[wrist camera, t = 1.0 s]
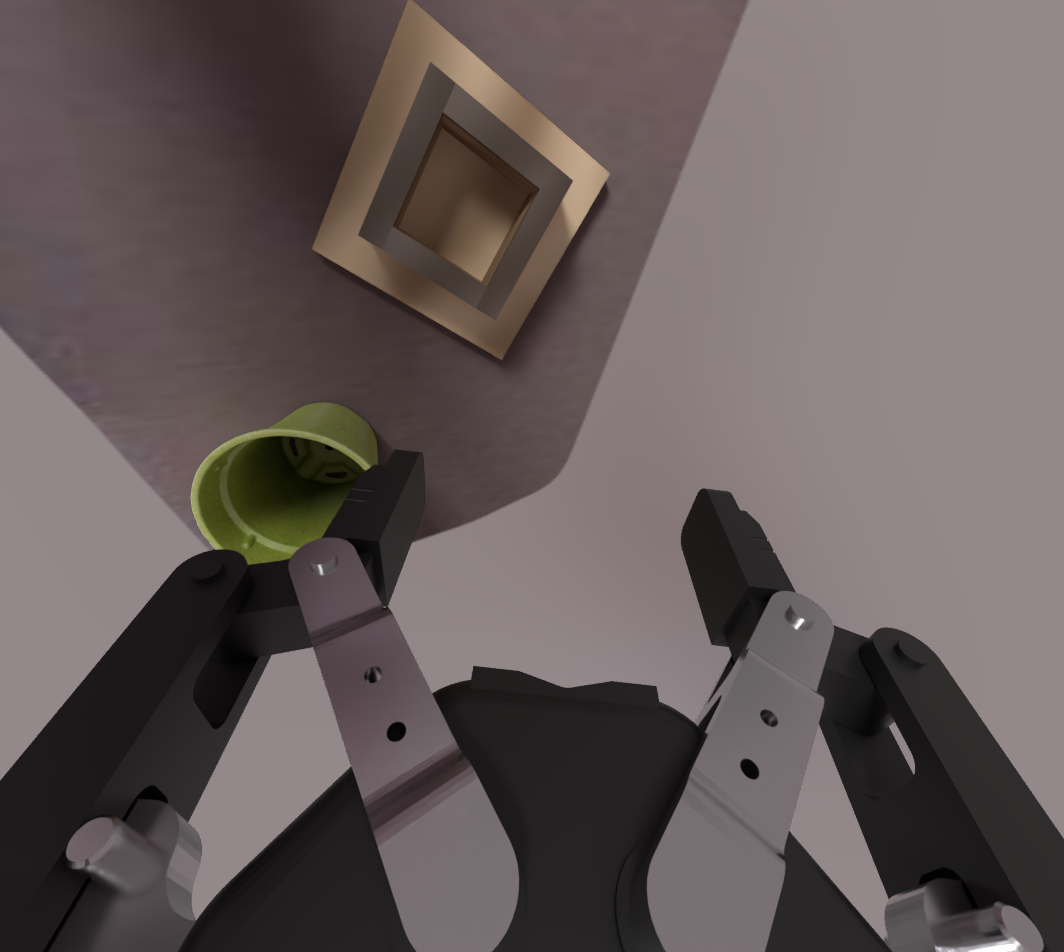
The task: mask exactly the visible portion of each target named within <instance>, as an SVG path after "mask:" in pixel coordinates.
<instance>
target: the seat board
mask: <svg viewBox="0 0 1064 952" xmlns="http://www.w3.org/2000/svg"><path fill="white" fill-rule="evenodd" d="M609 174H610V173H609V172H608V171H606V170H605V169H604V168H603V167H602V166H601V165H600V164H598V163H597V162H596V161H595V160H594V159H593V158H592V157H590V156H589V155H588V154H587V153H586V152H585V151H584V150H582V149H581V148H580V147H579V146H578V145H577V144H576V143H574V142H573V141H572V140H571V139H570V138H569V137H568V136H566V135H565V134H564V133H563V132H562V131H561V130H560V129H558V128H557V127H556V126H555V125H554V124H553V123H552V122H551V121H549V120H548V119H547V118H546V117H545V116H544V115H543V114H541V113H540V112H539V111H538V110H537V109H536V108H535V107H533V106H532V105H531V104H530V103H529V102H528V101H527V100H525V99H524V98H523V97H522V96H521V95H520V94H519V93H517V92H516V91H515V90H514V89H513V88H512V87H511V86H509V85H508V84H507V83H506V82H505V81H504V80H503V79H501V78H500V77H499V76H498V75H497V74H496V73H495V72H493V71H492V70H491V69H490V68H489V67H488V66H487V65H485V64H484V63H483V62H482V61H481V60H480V59H479V58H477V57H476V56H475V55H474V54H473V53H472V52H471V51H469V50H468V49H467V48H466V47H465V46H464V45H463V44H462V43H460V42H459V41H458V40H457V39H456V38H455V37H454V36H452V35H451V34H450V33H449V32H448V31H447V30H446V29H444V28H443V27H442V26H441V25H440V24H439V23H438V22H436V21H435V20H434V19H433V18H432V17H431V16H430V15H428V14H427V13H426V12H425V11H424V10H423V9H422V8H420V7H419V6H418V5H417V4H416V3H415V2H414V1H412V0H408V1H407V4H406V6H405V9H404V11H403V14H402V17H401V19H400V22H399V24H398V27H397V30H396V32H395V35H394V37H393V40H392V43H391V45H390V48H389V50H388V53H387V55H386V58H385V61H384V63H383V66H382V68H381V71H380V74H379V76H378V79H377V81H376V84H375V87H374V89H373V92H372V94H371V97H370V99H369V102H368V105H367V107H366V110H365V112H364V115H363V118H362V120H361V123H360V125H359V128H358V131H357V133H356V136H355V138H354V141H353V143H352V146H351V149H350V151H349V154H348V156H347V159H346V162H345V164H344V167H343V169H342V172H341V175H340V177H339V180H338V182H337V185H336V187H335V190H334V193H333V195H332V198H331V200H330V203H329V206H328V208H327V211H326V213H325V216H324V219H323V221H322V224H321V226H320V229H319V232H318V234H317V237H316V239H315V242H314V244H313V247H312V250H314V251H316V252H318V253H319V254H321V255H323V256H324V257H326V258H328V259H330V260H331V261H333V262H335V263H336V264H338V265H340V266H342V267H343V268H345V269H347V270H348V271H350V272H352V273H353V274H355V275H357V276H359V277H360V278H362V279H364V280H365V281H367V282H369V283H371V284H372V285H374V286H376V287H377V288H379V289H381V290H383V291H384V292H386V293H388V294H389V295H391V296H393V297H395V298H396V299H398V300H400V301H401V302H403V303H405V304H407V305H408V306H410V307H412V308H413V309H415V310H417V311H419V312H420V313H422V314H424V315H425V316H427V317H429V318H431V319H432V320H434V321H436V322H437V323H439V324H441V325H443V326H444V327H446V328H448V329H449V330H451V331H453V332H455V333H456V334H458V335H460V336H461V337H463V338H465V339H467V340H468V341H470V342H472V343H473V344H475V345H477V346H479V347H480V348H482V349H484V350H485V351H487V352H489V353H491V354H492V355H494V356H496V357H497V358H499V359H501V360H502V359H503V357H504V355H505V353H506V352H507V350H508V348H509V346H510V345H511V343H512V341H513V340H514V338H515V336H516V334H517V333H518V331H519V329H520V328H521V326H522V324H523V322H524V321H525V319H526V317H527V316H528V314H529V312H530V310H531V309H532V307H533V305H534V303H535V302H536V300H537V298H538V297H539V295H540V293H541V291H542V290H543V288H544V286H545V285H546V283H547V281H548V279H549V278H550V276H551V274H552V273H553V271H554V269H555V267H556V266H557V264H558V262H559V260H560V259H561V257H562V255H563V254H564V252H565V250H566V248H567V247H568V245H569V243H570V242H571V240H572V238H573V236H574V235H575V233H576V231H577V230H578V228H579V226H580V224H581V223H582V221H583V219H584V217H585V216H586V214H587V212H588V211H589V209H590V207H591V205H592V204H593V202H594V200H595V199H596V197H597V195H598V193H599V192H600V190H601V188H602V187H603V185H604V183H605V181H606V180H607V178H608V176H609Z"/></svg>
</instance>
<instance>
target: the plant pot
mask: <svg viewBox="0 0 1064 952" xmlns="http://www.w3.org/2000/svg"><path fill="white" fill-rule="evenodd" d="M292 437H293V438H294V439H295V445H296V449H297V452H298V456H296V455H294V454H293V452H292V449H291V447H290V445H289V439H290V438H292ZM326 445H329V446H331V447H333V449H332V450H328V449H326ZM374 464H375V465H378V452H377V441H376V437H375V434H374V432H373V430H372V428H371V427H370V425H369V424H368V423H367V422H366V421H365V420H364V419H362V418H361V417H360V416H358V415H357V414H356V413H354V412H353V411H351V410H350V409H349V408H347V407H344V406H342V405H338V404H334V403H325V402H320V403H312V404H308V405H305V406H303V407H301V408H299V409H297V410H295V411H294V412H292V413H291V414H289V415H288V416H287V417H285V418H284V419H282V420H281V421H279V422H278V423H276V424H275V425H273V426H272V427H270V428H269V429H262V430H256V431H252V432H249V433H245V434H243V435H240V436H237V437H235V438H233V439H231V440H229V441H227V442H226V443H224V444H222V445H221V446H220V447H218V448H217V449H215V450H214V451H213V452H212V453H211V454H210V455H209V456H208V457H207V458H206V459H205V460H204V461H203V463H202V464H201V465H200V467H199V469H198V470H197V472H196V475H195V477H194V480H193V484H192V489H191V505H192V511H193V514H194V517H195V519H196V521H197V525H198V527H199V529H200V530H201V532H202V534H203V535H204V536H205V537H206V539H207V540H208V541H209V543H210V544H211V545H212V546H213V547H214V548H215V549H216V550H218V549H228V550H234V551H237V552H239V553H241V554H242V555H243V556H244V557H245V559H246V561H247V563H248V565H250V564H257V563H265V562H273V561H280V560H286V559H290V558H291V557H292V555H293V554H294V553H295V552H296V551H297V550H298V549H299V548H300V547H302V546H303V545H305V544H307V543H309V542H311V541H314V540H317V539H321V538H322V536H323V535H324V533H325V531H326V530H327V528H328V526H329V525H330V523H331V521H332V520H333V518H334V517H335V515H336V513H337V512H338V510H339V508H340V507H341V505H342V504H343V502H344V500H346V497H347V495H348V494H349V492H350V490H352V488H353V486H354V484H355V482H356V481H357V479H358V477H359V476H360V474H362V473H363V472H365V471H366V470H367V469H369V468H370V467H372V466H373V465H374ZM340 472H346V473H347V474H346V476H343V477H329V476H327V475H326V474H327V473H340Z"/></svg>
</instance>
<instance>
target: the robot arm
mask: <svg viewBox="0 0 1064 952" xmlns="http://www.w3.org/2000/svg"><path fill="white" fill-rule="evenodd" d="M424 503H425V478H424V457H423V453H421V452H413V451H405V450H397V449H396V450H395V451H394V452H393V454H392V455H391V457H390V459H389V461H388V463H387V464H386V466H383V465H375V464H374V465H373V466H372V467H370V468H369V469H367V470H366V471H365V472H363V473H362V474H360V476H359V477H358V479H357V481H356V482H355V484H354V486H353V488H352V490H350V492H349V494H348V495H347V497H346V500H344V502H343V504H342V505H341V507H340V508H339V510H338V512H337V513H336V515H335V517H334V518H333V520H332V521H331V523H330V525H329V526H328V528H327V530H326V531H325V533H324V535H323V536H322V538H321V539H317V540H314V541H311V542H309V543H307V544H305V545H303V546H302V547H300V548H299V549H298V550H297V551H296V552H295V553H294V554H293V555H292V557H291V558H290V559H286V560H280V561H273V562H265V563H257V564H250V565H248V563H247V561H246V559H245V557H244V556H243V555H242V554H241V553H239V552H237V551H234V550H228V549H218V550H211V551H207V552H204V553H201V554H198V555H196V556H193V557H191V558H190V559H188V560H186V561H185V562H183V563H182V564H181V565H179V566H178V567H177V568H176V569H175V570H174V571H173V572H172V574H171V575H170V576H169V577H168V579H167V580H166V581H165V582H164V583H163V584H162V586H161V587H160V588H159V589H158V591H157V592H156V593H155V594H154V595H153V597H152V598H151V599H150V600H149V601H148V603H147V604H146V605H145V606H144V608H143V609H142V610H141V611H140V612H139V614H138V615H137V616H136V617H135V618H134V620H133V621H132V622H131V623H130V625H129V626H128V627H127V628H126V629H125V630H124V632H123V633H122V634H121V635H120V637H119V638H118V639H117V640H116V642H115V643H114V644H113V645H112V646H111V647H110V649H109V650H108V651H107V652H106V653H105V655H104V656H103V657H102V658H101V660H100V661H99V662H98V663H97V664H96V666H95V667H94V668H93V669H92V670H91V672H90V673H89V674H88V675H87V677H86V678H85V679H84V680H83V681H82V682H81V684H80V685H79V686H78V687H77V689H76V690H75V691H74V692H73V693H72V695H71V696H70V697H69V698H68V699H67V701H66V702H65V703H64V704H63V706H62V707H61V708H60V709H59V710H58V711H57V713H56V714H55V715H54V716H53V718H52V719H51V720H50V721H49V722H48V724H47V725H46V726H45V727H44V728H43V730H42V731H41V732H40V733H39V734H38V736H37V737H36V738H35V740H34V741H33V742H32V743H31V745H29V747H28V748H27V749H26V750H25V751H24V753H23V754H22V755H21V756H20V757H19V759H18V760H17V761H16V762H15V764H14V765H13V766H12V767H11V768H10V770H9V771H8V772H7V773H6V774H5V776H4V777H3V778H2V779H1V780H0V952H1064V839H1063V837H1062V836H1061V834H1060V833H1059V832H1058V830H1057V828H1056V827H1055V826H1054V824H1053V823H1052V821H1051V820H1050V818H1049V817H1048V815H1047V814H1046V813H1045V811H1044V810H1043V808H1042V807H1041V805H1040V804H1039V802H1038V801H1037V800H1036V798H1035V797H1034V795H1033V794H1032V792H1031V791H1030V789H1029V788H1028V787H1027V785H1026V783H1025V782H1024V781H1023V779H1022V778H1021V776H1020V775H1019V773H1018V772H1017V770H1016V769H1015V768H1014V766H1013V765H1012V763H1011V762H1010V760H1009V759H1008V757H1007V756H1006V755H1005V753H1004V752H1003V750H1002V749H1001V747H1000V746H999V744H998V743H997V742H996V740H995V739H994V737H993V736H992V734H991V733H990V731H989V730H988V728H987V727H986V726H985V724H984V723H983V721H982V720H981V718H980V717H979V715H978V714H977V712H976V711H975V709H974V708H973V707H972V705H971V704H970V703H969V701H968V699H967V698H966V696H965V695H964V694H963V692H962V691H961V689H960V688H959V686H958V685H957V683H956V682H955V680H954V679H953V677H952V676H951V675H950V673H949V672H948V670H947V669H946V667H945V666H944V664H943V663H942V662H941V660H940V659H939V658H938V656H937V655H936V654H935V653H934V652H933V651H932V650H931V649H930V648H929V647H928V646H927V645H925V644H924V643H923V642H921V641H920V640H918V639H917V638H915V637H913V636H912V635H910V634H908V633H906V632H903V631H901V630H897V629H893V628H880V629H878V630H877V631H875V632H874V633H873V634H872V635H871V636H870V637H869V638H866V637H864V636H861V635H858V634H855V633H853V632H850V631H847V630H845V629H842V628H839V627H836V626H834V625H833V623H832V621H831V619H830V617H829V616H828V614H827V613H826V612H825V611H824V610H823V609H822V608H821V607H820V606H819V605H818V604H816V603H815V602H814V601H812V600H811V599H809V598H807V597H805V596H803V595H801V594H798V593H796V591H795V590H794V588H793V586H792V584H791V582H790V580H789V578H788V577H787V575H786V573H785V571H784V569H783V567H782V565H781V564H780V562H779V560H778V558H777V556H776V554H775V553H773V549H772V547H771V545H770V543H769V541H767V537H766V535H765V534H764V532H763V530H762V528H761V526H760V524H759V523H758V522H757V521H756V520H755V519H754V518H752V517H751V516H750V515H749V514H748V513H747V512H746V511H741V510H740V509H739V507H738V505H737V503H736V501H735V499H734V498H733V496H732V494H731V493H730V492H728V491H720V490H712V489H701V490H700V491H699V492H698V494H697V496H696V499H695V501H694V503H693V505H692V508H691V510H690V512H689V514H688V517H687V519H686V522H685V524H684V526H683V529H682V533H681V546H682V550H683V554H684V557H685V560H686V563H687V566H688V570H689V573H690V576H691V579H692V583H693V586H694V589H695V592H696V596H697V599H698V602H699V605H700V609H701V612H702V615H703V618H704V622H705V625H706V628H707V631H708V635H709V638H710V641H711V644H712V645H717V646H726V647H729V649H730V652H731V656H730V657H729V659H728V660H727V662H726V664H725V665H724V667H723V669H722V671H721V673H720V675H719V677H718V679H717V681H716V683H715V685H714V687H713V689H712V691H711V693H710V694H709V696H708V698H707V700H706V702H705V704H704V706H703V708H702V710H701V712H700V714H699V715H698V717H697V719H696V720H695V722H692V721H691V720H690V719H689V718H687V717H686V716H685V715H683V714H681V713H680V712H679V711H677V710H675V709H674V708H672V707H670V706H668V705H665V704H664V703H661V702H659V699H658V693H657V687H656V686H650V685H641V684H632V683H623V682H614V681H611V682H604V683H598V684H592V685H585V686H578V687H573V688H564V687H560V686H557V685H555V684H552V683H550V682H547V681H544V680H542V679H539V678H536V677H533V676H531V675H528V674H526V673H523V672H520V671H513V670H505V669H496V668H487V667H478V666H473V672H472V678H471V680H467V681H462V682H458V683H455V684H451V685H449V686H446V687H444V688H442V689H439V690H437V691H436V692H434V693H432V692H431V690H430V688H429V686H428V684H427V682H426V680H425V678H424V676H423V674H422V672H421V670H420V668H419V666H418V664H417V662H416V660H415V658H414V656H413V654H412V652H411V650H410V648H409V646H408V644H407V642H406V640H405V638H404V636H403V633H402V631H401V630H400V627H399V625H398V623H397V621H396V619H395V617H394V615H393V614H392V612H391V610H390V609H389V608H388V604H389V602H390V599H391V596H392V594H393V591H394V588H395V586H396V583H397V580H398V577H399V575H400V572H401V570H402V567H403V564H404V562H405V559H406V556H407V554H408V551H409V548H410V546H411V543H412V540H413V538H414V535H415V533H416V530H417V527H418V525H419V522H420V519H421V516H422V513H423V509H424ZM383 606H386V608H384V607H383ZM310 647H313V648H314V652H315V655H316V658H317V661H318V664H319V667H320V670H321V673H322V676H323V680H324V682H325V686H326V689H327V692H328V695H329V698H330V701H331V705H332V708H333V711H334V714H335V717H336V720H337V723H338V727H339V730H340V733H341V736H342V739H343V742H344V745H345V748H346V752H347V755H348V758H349V761H350V764H351V767H350V768H349V769H348V770H347V771H346V772H345V773H344V774H343V775H342V776H341V777H339V779H338V780H336V781H335V782H334V783H333V784H332V785H331V786H330V787H329V788H328V789H327V790H326V791H325V792H324V793H323V794H322V795H320V797H318V798H317V799H316V800H315V801H314V802H313V803H312V804H311V805H310V806H309V807H308V808H307V809H306V810H305V811H304V812H303V813H301V814H300V815H299V816H298V817H297V818H296V819H295V820H294V821H293V822H292V823H291V824H290V825H289V826H288V827H287V828H286V829H285V830H284V831H283V832H281V833H280V834H279V835H278V836H277V837H276V838H275V839H274V840H273V841H272V842H271V843H270V844H269V845H268V846H267V847H266V848H264V850H262V851H261V852H260V853H259V854H258V855H257V856H256V857H255V858H254V859H253V860H252V861H251V862H250V863H249V864H248V865H247V866H245V867H244V868H243V869H242V870H241V871H240V872H239V873H238V874H237V875H236V876H235V877H234V878H233V879H232V880H231V881H230V882H229V883H228V884H227V885H226V886H225V887H224V888H223V889H222V890H221V891H220V892H219V893H218V894H217V895H216V896H215V897H214V899H213V900H212V901H211V902H210V903H209V905H208V906H207V907H206V909H205V910H204V911H203V912H202V914H201V915H200V916H199V918H198V919H197V920H196V919H195V917H194V914H193V911H192V903H191V901H192V900H191V899H192V889H193V884H194V881H195V878H196V874H197V872H198V869H199V866H200V861H201V856H202V844H201V839H200V836H199V834H198V832H197V831H196V830H195V828H193V827H192V826H191V825H190V824H189V823H188V822H189V819H190V817H191V816H192V813H193V812H194V809H195V807H196V805H197V804H198V802H199V799H200V798H201V796H202V793H203V791H204V789H205V787H206V785H207V783H208V781H209V779H210V777H211V775H212V773H213V771H214V769H215V767H216V765H217V763H218V761H219V759H220V757H221V755H222V753H223V751H224V749H225V747H226V745H227V743H228V741H229V739H230V737H231V735H232V733H233V731H234V729H235V727H236V725H237V723H238V721H239V719H240V717H241V715H242V713H243V711H244V709H245V707H246V705H247V703H248V701H249V699H250V697H251V695H252V693H253V691H254V689H255V687H256V685H257V683H258V681H259V679H260V677H261V675H262V673H263V671H264V669H265V667H266V665H267V663H268V661H269V659H270V657H271V655H273V654H278V653H284V652H289V651H294V650H299V649H305V648H310ZM893 722H895V723H896V725H897V727H898V728H899V730H900V732H901V734H902V736H903V738H904V740H905V742H906V743H907V745H908V747H909V749H910V751H911V753H912V755H913V758H914V762H915V774H914V775H913V773H912V771H911V769H910V767H909V765H908V763H907V761H906V759H905V757H904V755H903V753H902V751H901V750H900V748H899V746H898V744H897V742H896V740H895V738H894V736H893V734H892V732H891V730H890V728H889V726H890V725H891V724H892V723H893ZM818 724H819V725H820V727H821V730H822V733H823V735H824V737H825V740H826V742H827V745H828V747H829V750H830V753H831V755H832V757H833V760H834V762H835V765H836V767H837V770H838V772H839V775H840V777H841V780H842V783H843V785H844V788H845V790H846V793H847V795H848V798H849V800H850V803H851V805H852V808H853V810H854V813H855V815H856V818H857V820H858V823H859V825H860V828H861V830H862V833H863V835H864V838H865V840H866V843H867V846H868V848H869V850H870V853H871V855H872V858H873V861H874V863H875V866H876V868H877V871H878V873H879V876H880V878H881V881H882V883H883V885H884V888H885V891H886V893H887V895H888V898H889V900H888V902H887V905H886V908H885V926H886V931H887V935H886V936H885V938H884V941H883V940H882V939H881V938H880V936H879V935H878V934H877V933H876V932H875V930H874V929H873V928H872V927H871V926H870V925H869V923H868V922H867V921H866V920H865V919H864V918H863V916H862V915H861V914H860V913H859V912H858V911H857V910H856V908H855V907H854V906H853V905H852V904H851V902H850V901H849V900H848V899H847V898H846V897H845V895H844V894H843V893H842V892H841V891H840V890H839V889H838V887H837V886H836V885H835V884H834V883H833V881H832V880H831V879H830V878H829V877H828V876H827V874H826V873H825V872H824V871H823V870H822V869H821V867H820V866H819V865H818V864H817V863H816V862H815V860H814V859H813V858H812V857H811V856H810V855H809V853H808V852H807V851H806V850H805V849H804V848H803V846H802V845H801V844H800V843H799V842H798V841H797V840H796V838H795V837H794V836H793V835H792V834H791V832H790V831H789V829H790V825H791V821H792V818H793V814H794V811H795V807H796V803H797V800H798V796H799V792H800V789H801V785H802V782H803V778H804V775H805V771H806V767H807V764H808V760H809V756H810V753H811V749H812V745H813V742H814V739H815V735H816V731H817V727H818Z"/></svg>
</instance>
